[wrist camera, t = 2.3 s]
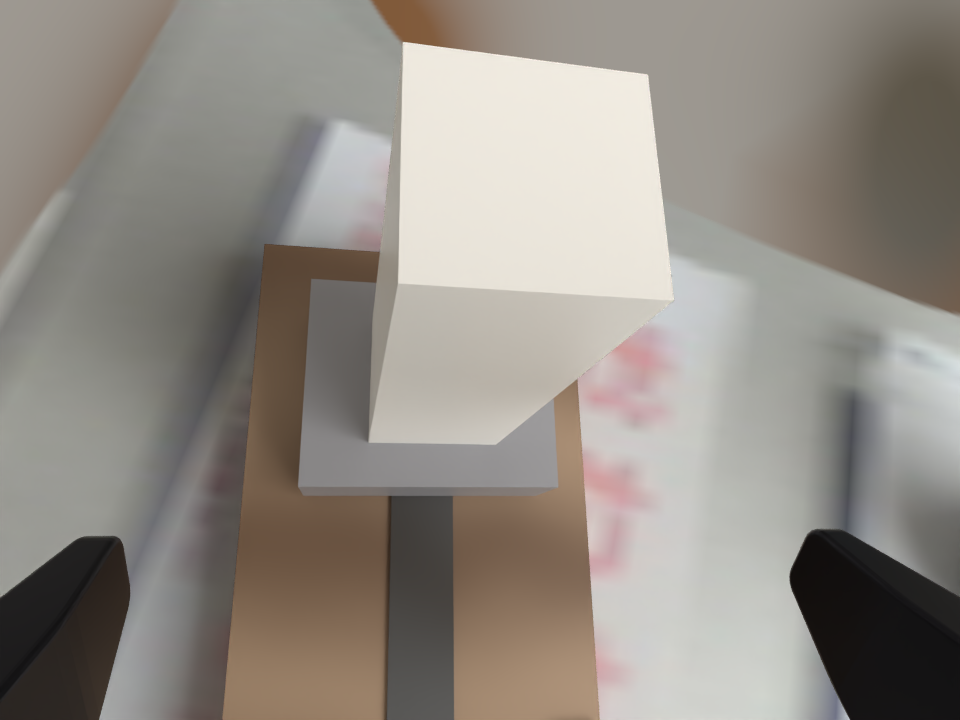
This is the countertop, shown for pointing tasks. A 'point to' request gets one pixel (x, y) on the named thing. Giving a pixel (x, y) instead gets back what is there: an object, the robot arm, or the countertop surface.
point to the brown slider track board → (397, 566)
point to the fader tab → (486, 278)
